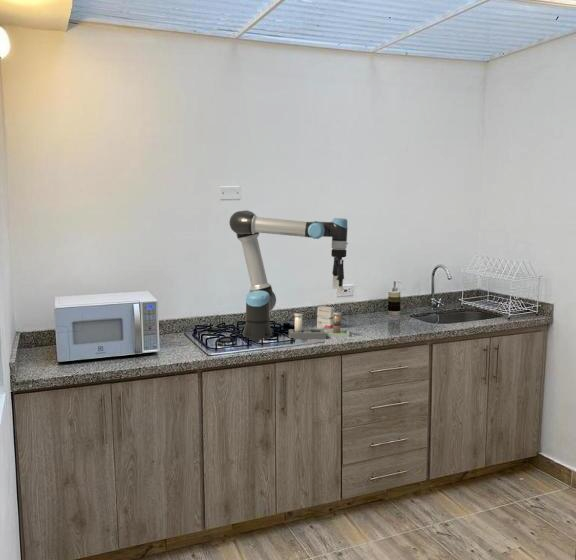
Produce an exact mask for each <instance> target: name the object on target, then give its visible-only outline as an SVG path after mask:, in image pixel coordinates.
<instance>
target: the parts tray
mask: <svg viewBox="0 0 576 560" xmlns="http://www.w3.org/2000/svg"><path fill="white" fill-rule="evenodd" d="M324 331H325V332H326V338H329V337H331V338H332V337H333V338H335V337H336V338H337V337H338V338H339V337H340V338H341V337H343V338H345V337H346V338H348V337H349V338H350V336H351V333H350V332H349V331H348V329H341V333H333V329H324Z"/></svg>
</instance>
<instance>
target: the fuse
mask: <svg viewBox="0 0 576 560" xmlns="http://www.w3.org/2000/svg"><path fill="white" fill-rule="evenodd" d="M303 316H304V313H302V312H294V329H295V332H302V329H303Z"/></svg>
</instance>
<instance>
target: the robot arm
mask: <svg viewBox="0 0 576 560" xmlns="http://www.w3.org/2000/svg"><path fill="white" fill-rule="evenodd" d="M229 227H230V229H231V231H233V232H234V233H235V234H236V238H237V240H238V241H240V243H241V246H242V251H243V254H244V255H243V256H244V260H245V264H246V269H247V272H248V276H249V282H250V289H249V292H247V293H246V296H245V324H244V328H243V331H242V335H243V336H244V337H247V338H249V339H251V340H252V341H251V342H260V341H263V340H262V338H264V339H265V340H268V339H267V338H270V337H271V336H272V337H273V332H272V328H271V325H270V311H273V309H274V307H275V306H276V304H277V297H276V293H274V291H273V287H272V284H270V283H269V282H268V278H267V275H266V271H265V265H264V262H263V261H264V260H263V258H262V253H261V249H260V248H261V247H260V244H259V239H258V238H259V235H260V234H269V235H279V236H281V235H282V236H290V237H300V238H312V239H315V240H316V239H317V240H319V239H321V238H322V237H325V238H331V248H332V249H331V252H330V253H331V257H333V266H332V272H331V273H332V289H336V293H337V294H338V293H339V294H342V293H344V291H343V288H344V285H343V284H344V280H345V272H344V271H345V270H344V259H343V258H346V257H347V245H348V244H349V242H348V219H346V218H341V217H340V218H339V217H334V218H333V219H332V221H329V222H328V221H316V220H314V221H302V220H293V219H292V220H291V219H282V218H272V217H271V218H269V217H260V216H257V215H256V213H254V212H253V211H251V210H239V211H236V212H234V213H233V214H231V216H230V219H229ZM242 335H241V336H242ZM270 339H271V338H270Z"/></svg>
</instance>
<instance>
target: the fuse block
mask: <svg viewBox="0 0 576 560" xmlns="http://www.w3.org/2000/svg"><path fill="white" fill-rule="evenodd" d="M324 330H325V328H310V329H309V328H302V332H295V328H294V329H293V328H290V329H288V337H289V340H292V339H291V338H294V339H293V340H326V339H327V337H326V332H325V331H324Z"/></svg>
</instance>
